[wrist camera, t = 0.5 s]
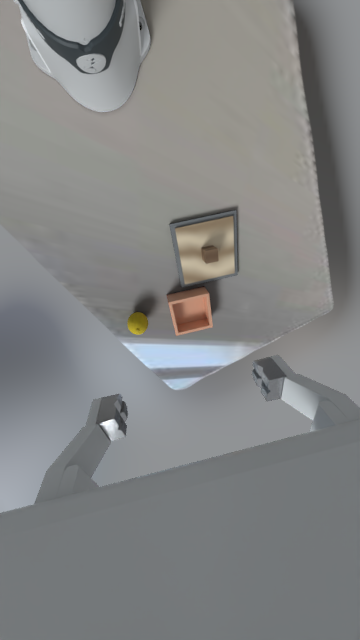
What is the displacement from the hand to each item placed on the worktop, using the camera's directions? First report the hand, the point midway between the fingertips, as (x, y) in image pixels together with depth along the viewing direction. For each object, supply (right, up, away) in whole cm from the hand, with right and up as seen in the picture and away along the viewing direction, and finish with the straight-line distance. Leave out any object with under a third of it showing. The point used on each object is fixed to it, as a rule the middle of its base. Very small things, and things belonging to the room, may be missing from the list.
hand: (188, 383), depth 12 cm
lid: (+6, +21, +38) cm, 44 cm away
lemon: (-13, +5, +45) cm, 47 cm away
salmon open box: (+2, +8, +46) cm, 47 cm away
